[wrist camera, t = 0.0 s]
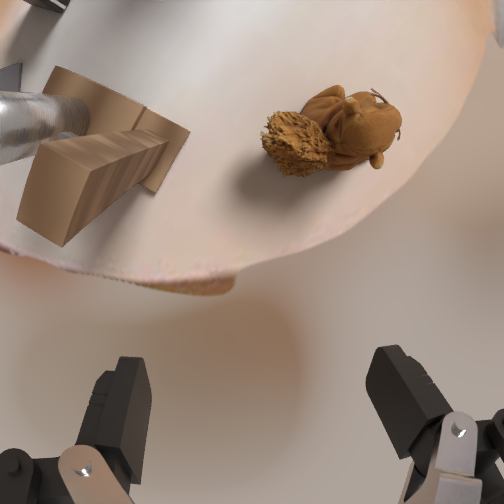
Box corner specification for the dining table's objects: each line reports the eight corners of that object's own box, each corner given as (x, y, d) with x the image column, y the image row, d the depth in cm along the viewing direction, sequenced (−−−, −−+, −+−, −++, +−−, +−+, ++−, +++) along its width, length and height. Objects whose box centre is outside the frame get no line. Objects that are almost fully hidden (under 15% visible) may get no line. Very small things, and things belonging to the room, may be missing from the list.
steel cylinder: (47, 101, 23) (-49, 102, 10) (90, 93, 24) (2, 81, 11) (47, 150, 25) (-47, 178, 12) (90, 144, 25) (3, 167, 13)
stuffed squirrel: (376, 153, 37) (439, 171, 25) (277, 195, 38) (306, 231, 26) (350, 80, 33) (408, 67, 21) (243, 119, 34) (258, 116, 22)
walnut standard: (54, 140, 32) (-93, 180, 10) (85, 74, 29) (-56, 42, 7) (155, 194, 36) (74, 301, 14) (192, 127, 33) (146, 133, 12)
